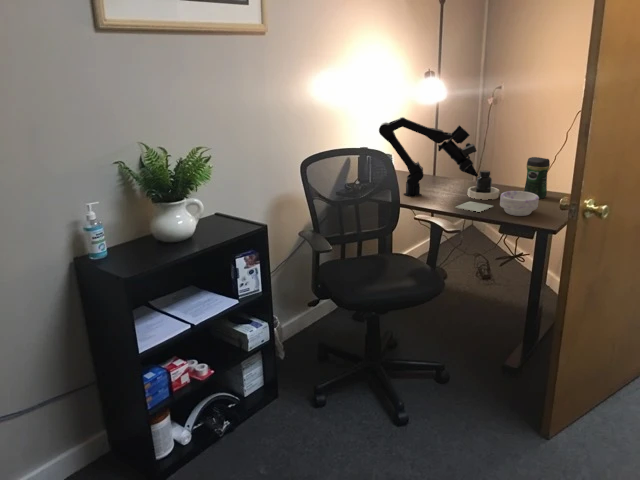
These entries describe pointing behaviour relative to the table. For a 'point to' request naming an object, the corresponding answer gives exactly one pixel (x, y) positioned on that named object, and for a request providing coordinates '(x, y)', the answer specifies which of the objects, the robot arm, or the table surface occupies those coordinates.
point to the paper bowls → (519, 202)
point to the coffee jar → (537, 176)
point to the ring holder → (483, 194)
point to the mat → (474, 206)
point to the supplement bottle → (484, 182)
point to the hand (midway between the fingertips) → (476, 173)
